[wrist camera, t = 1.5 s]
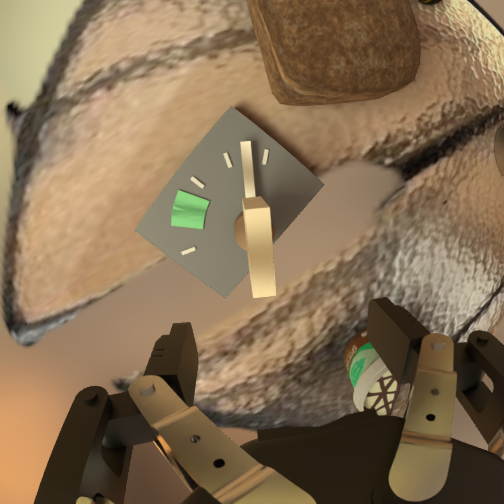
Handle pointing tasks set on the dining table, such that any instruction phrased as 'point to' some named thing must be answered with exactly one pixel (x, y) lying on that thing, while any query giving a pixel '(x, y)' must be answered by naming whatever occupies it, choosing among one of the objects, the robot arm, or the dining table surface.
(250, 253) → the dial needle
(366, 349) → the food container
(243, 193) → the gauge plate
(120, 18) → the dining table surface
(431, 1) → the tape measure
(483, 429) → the robot arm
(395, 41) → the bread
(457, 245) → the dining table surface
